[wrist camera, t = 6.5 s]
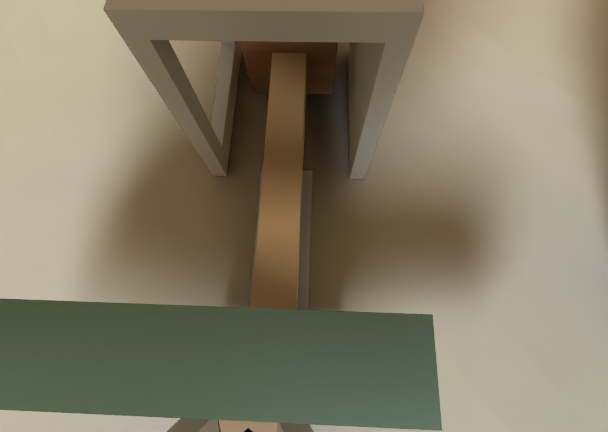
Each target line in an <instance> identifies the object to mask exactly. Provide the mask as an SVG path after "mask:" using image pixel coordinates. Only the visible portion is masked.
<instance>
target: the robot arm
mask: <svg viewBox="0 0 608 432" xmlns="http://www.w3.org/2000/svg"><path fill="white" fill-rule="evenodd" d="M167 432H313V430H312V428H311V427H310V425H309V424H294V423H273V422H252V421H231V420H210V419H188V418H181V419H180V420H179V421H177V422H176V423H175V424H174V425H173V426H172V427H171V428H170V429H169V430H168V431H167Z"/></svg>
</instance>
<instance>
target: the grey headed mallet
mask: <svg viewBox="0 0 608 432" xmlns="http://www.w3.org/2000/svg"><path fill="white" fill-rule="evenodd" d="M104 11H105V12H106V14H107V15H108V17H109V18H110V20H111V22H112V23H113V25H114V26H115V28H116V29H117V31H118V32H119V34H120V35H121V37H122V38H123V40H124V41H125V43H126V44H127V46H128V47H129V49H130V50H131V52H132V53H133V55H134V57H135V58H136V60H137V61H138V63H139V64H140V66H141V67H142V69H143V70H144V72H145V73H146V75H147V76H148V78H149V79H150V81H151V82H152V84H153V85H154V87H155V88H156V90H157V91H158V93H159V95H160V96H161V98H162V99H163V101H164V102H165V104H166V105H167V107H168V108H169V110H170V111H171V113H172V114H173V116H174V117H175V119H176V120H177V122H178V123H179V125H180V126H181V128H182V129H183V131H184V133H185V134H186V136H187V137H188V139H189V140H190V142H191V143H192V145H193V146H194V148H195V149H196V151H197V152H198V154H199V155H200V157H201V158H202V160H203V161H204V163H205V164H206V166H207V167H208V169H209V171H210V172H211V174H212V175H213V176H227V169H228V161H229V152H230V144H231V136H232V127H233V119H234V111H235V102H236V94H237V86H238V77H239V69H240V61H241V52H242V50H241V46H240V43H239V41H274V42H350V46H349V179H364V177H365V174H366V172H367V169H368V166H369V163H370V161H371V158H372V155H373V152H374V150H375V147H376V144H377V141H378V139H379V136H380V133H381V130H382V127H383V125H384V122H385V119H386V116H387V114H388V111H389V108H390V105H391V103H392V100H393V97H394V94H395V92H396V89H397V86H398V83H399V81H400V78H401V75H402V72H403V70H404V67H405V64H406V61H407V59H408V56H409V53H410V50H411V48H412V45H413V42H414V39H415V37H416V34H417V31H418V28H419V25H420V23H421V20H422V17H423V14H424V5H423V0H106V3H105V6H104ZM169 40H192V41H221V43H222V48H221V55H220V62H219V69H218V76H217V83H216V90H215V97H214V103H213V110H212V117H211V124H210V122H209V120H208V118H207V116H206V114H205V112H204V110H203V108H202V106H201V104H200V102H199V100H198V98H197V96H196V94H195V92H194V90H193V88H192V86H191V84H190V82H189V80H188V78H187V76H186V74H185V72H184V70H183V68H182V66H181V64H180V62H179V60H178V58H177V56H176V54H175V52H174V50H173V48H172V46H171V44H170V42H169ZM262 172H263V169H261V171H260V183H259V195H258V207H257V218H256V230H255V242H254V254H253V265H252V277H251V289H250V300H249V308H251V305H252V293H253V281H254V269H255V257H256V245H257V233H258V221H259V208H260V196H261V184H262ZM311 206H312V170H303V178H302V203H301V227H300V251H299V276H298V300H297V310H308V302H309V270H310V238H311Z"/></svg>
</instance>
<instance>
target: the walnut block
mask: <svg viewBox="0 0 608 432" xmlns="http://www.w3.org/2000/svg"><path fill="white" fill-rule="evenodd" d="M240 45H241V49H242V53H243V57H244V61H245V65H246V69H247V73H248V77H249V80H250V84H251V88H252V92H258V93H269V88H270V76H271V64H272V53H306V67H307V81H306V93H325V94H333V84H334V73H335V62H336V52H337V42H274V41H240Z"/></svg>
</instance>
